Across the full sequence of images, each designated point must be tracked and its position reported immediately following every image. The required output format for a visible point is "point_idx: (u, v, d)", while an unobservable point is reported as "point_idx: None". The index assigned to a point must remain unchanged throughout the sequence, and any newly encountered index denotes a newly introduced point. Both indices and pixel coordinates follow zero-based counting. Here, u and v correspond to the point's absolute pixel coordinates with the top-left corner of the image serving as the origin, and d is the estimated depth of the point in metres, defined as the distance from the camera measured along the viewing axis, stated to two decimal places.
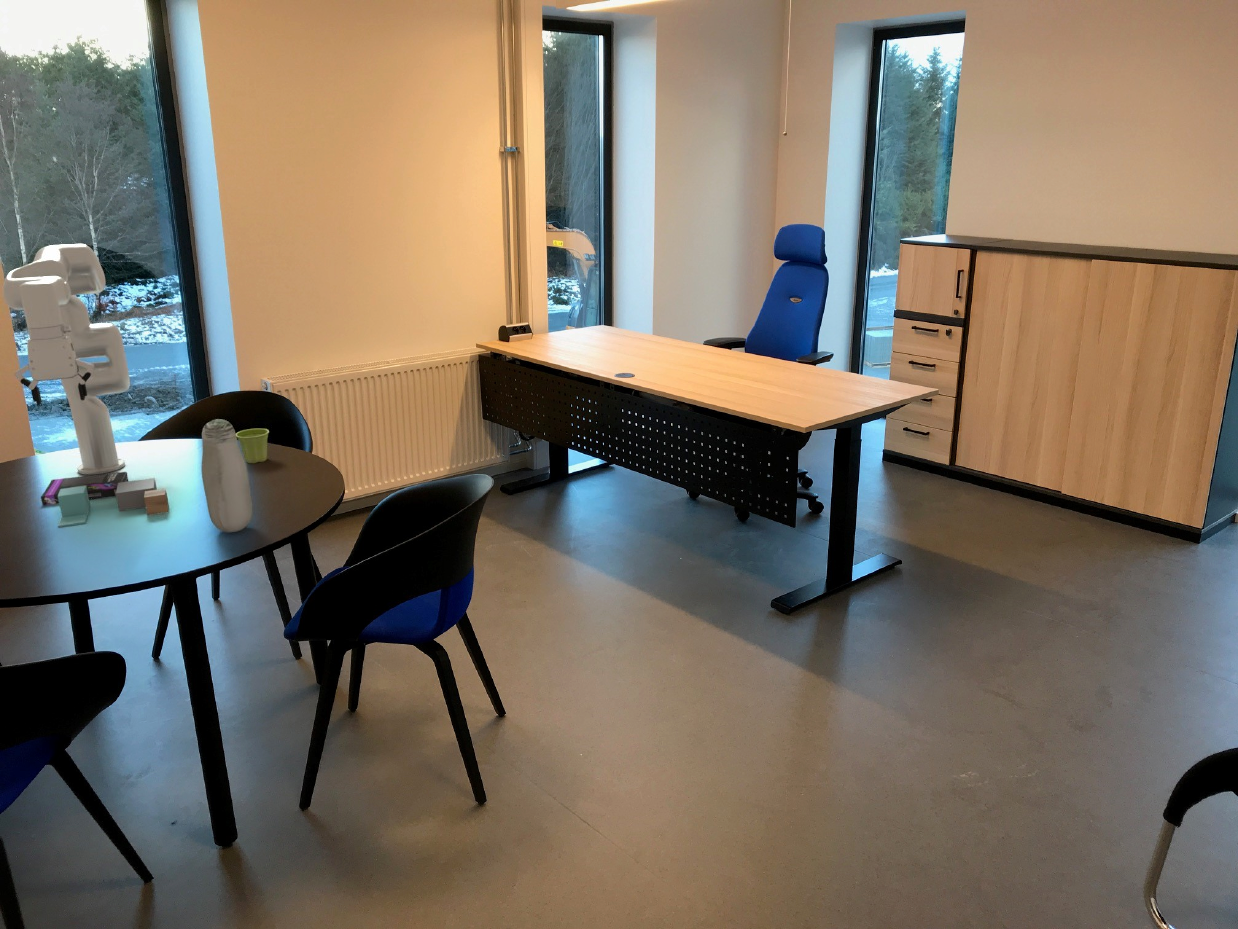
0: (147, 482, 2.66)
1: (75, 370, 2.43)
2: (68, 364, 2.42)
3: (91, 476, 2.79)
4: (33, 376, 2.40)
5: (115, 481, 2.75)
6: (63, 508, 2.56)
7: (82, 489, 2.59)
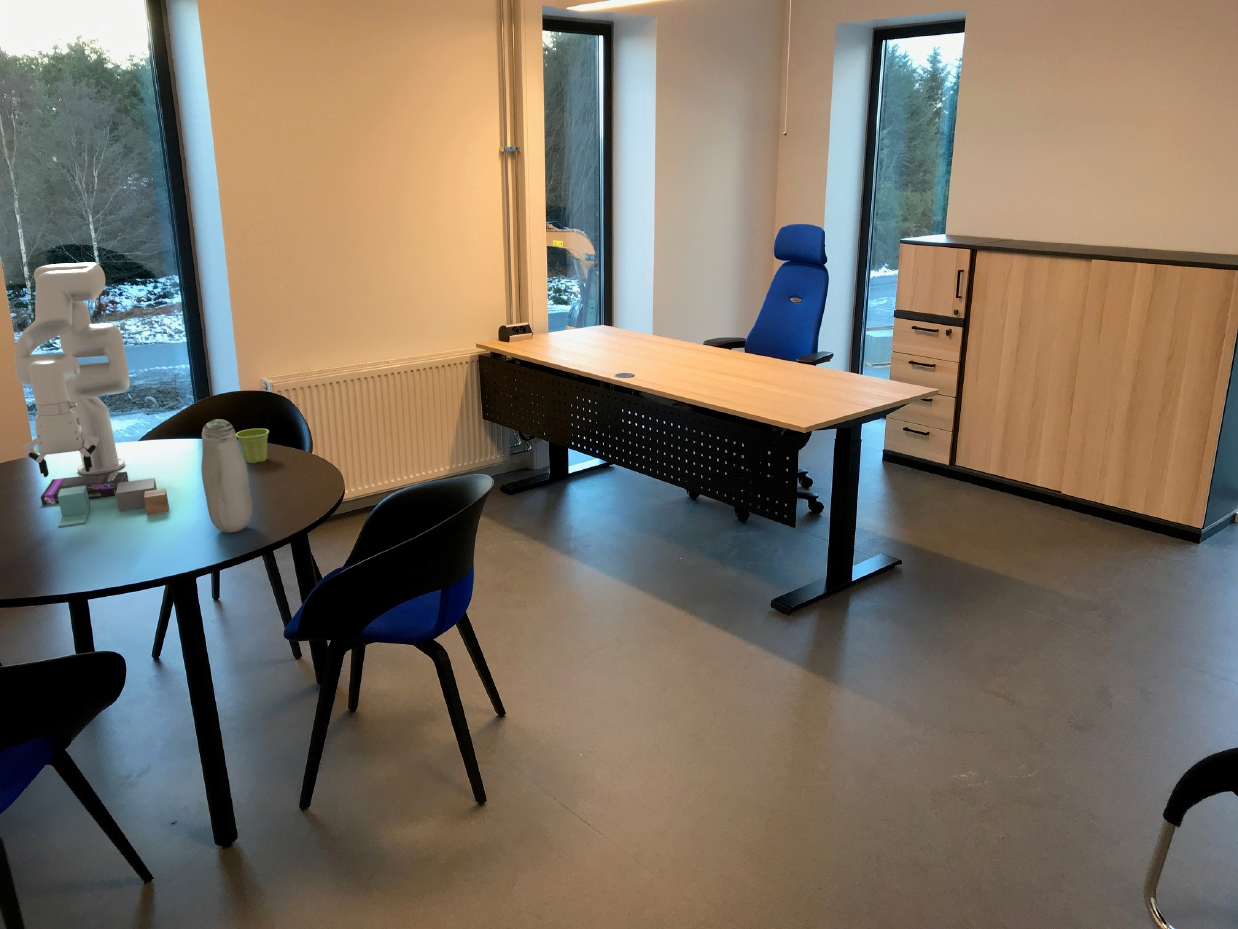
0: (147, 482, 2.66)
1: (81, 443, 2.54)
2: (74, 438, 2.53)
3: (91, 476, 2.79)
4: (40, 450, 2.51)
5: (115, 481, 2.75)
6: (63, 508, 2.56)
7: (82, 489, 2.59)
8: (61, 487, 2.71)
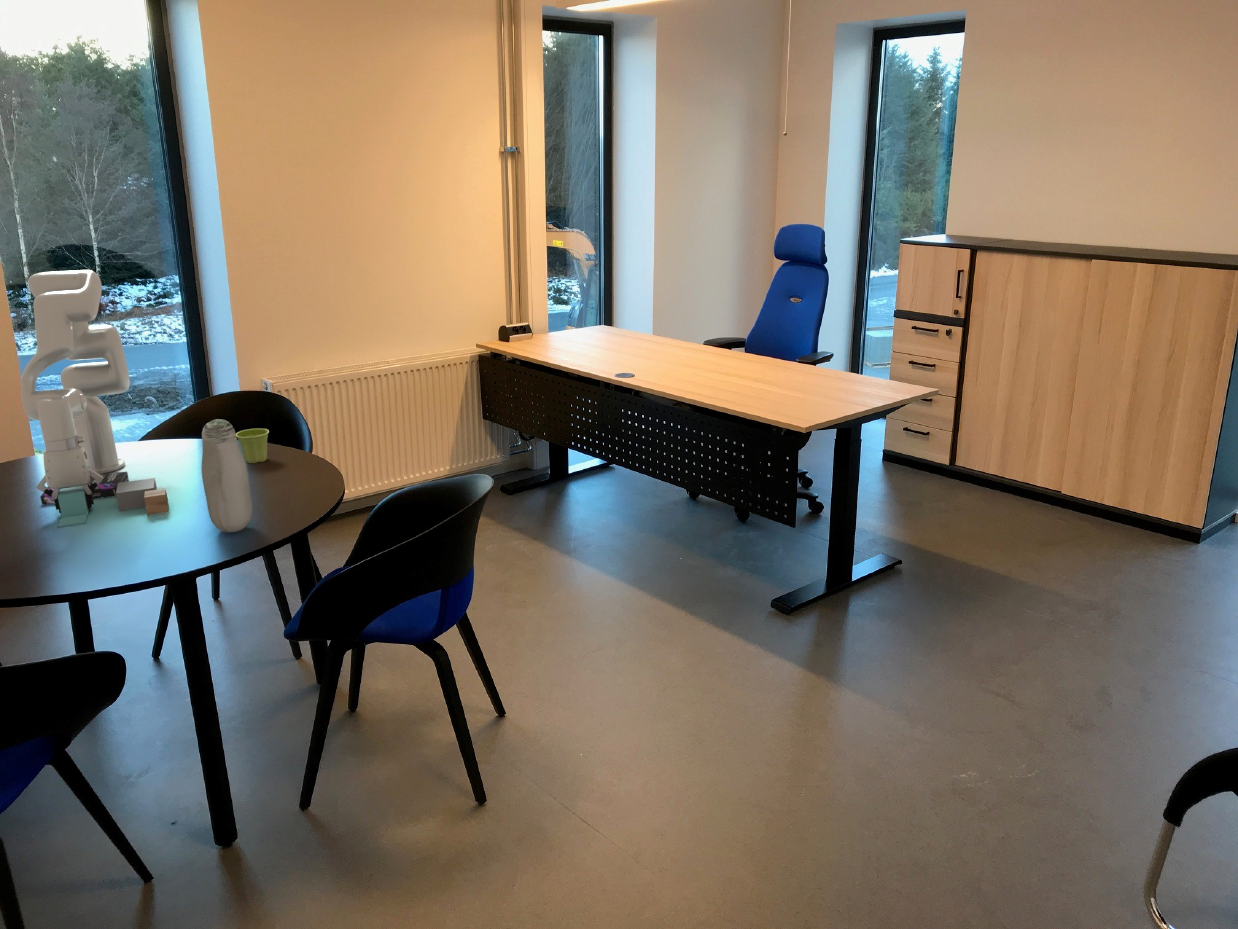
0: (147, 482, 2.66)
1: (88, 478, 2.57)
2: (82, 472, 2.56)
3: None
4: (49, 484, 2.54)
5: (115, 481, 2.75)
6: (63, 507, 2.56)
7: (82, 488, 2.59)
8: None
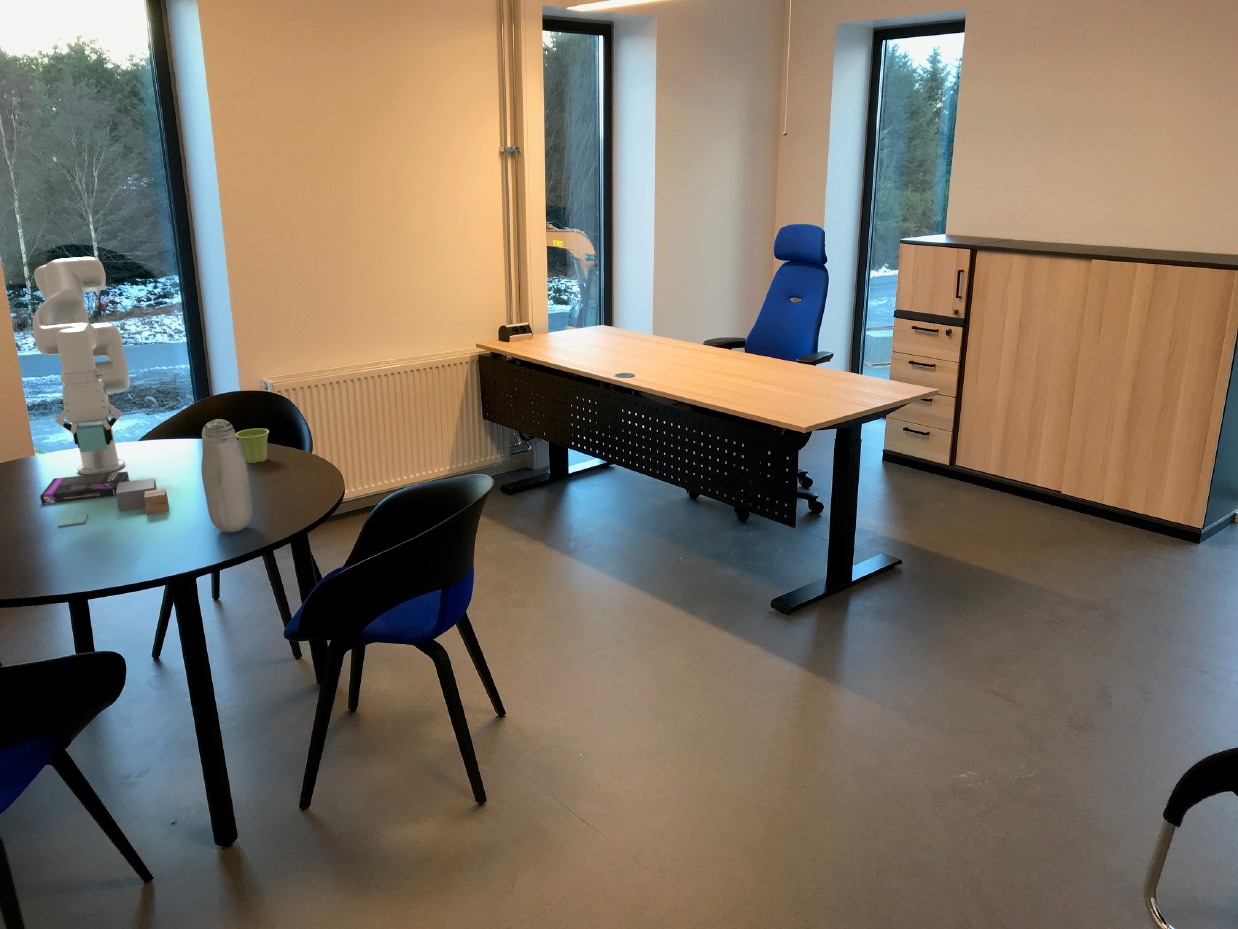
0: (147, 482, 2.66)
1: (107, 412, 2.54)
2: (100, 407, 2.53)
3: (92, 475, 2.80)
4: (68, 418, 2.52)
5: (115, 481, 2.75)
6: (81, 442, 2.53)
7: (101, 424, 2.57)
8: (61, 486, 2.72)
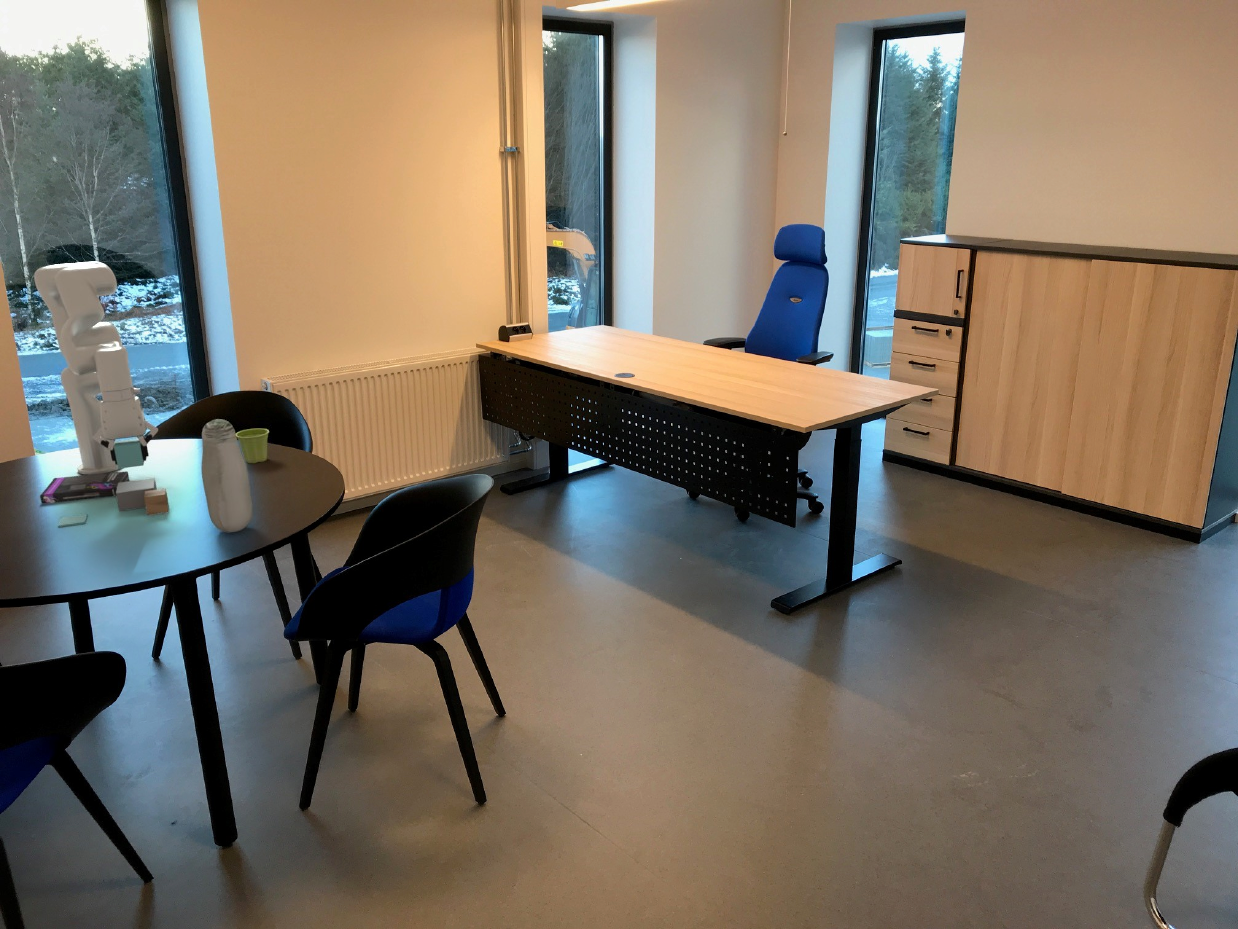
0: (147, 482, 2.66)
1: (144, 429, 2.59)
2: (138, 423, 2.58)
3: (92, 475, 2.80)
4: (105, 435, 2.56)
5: (115, 481, 2.75)
6: (119, 458, 2.57)
7: (137, 440, 2.61)
8: (61, 486, 2.72)
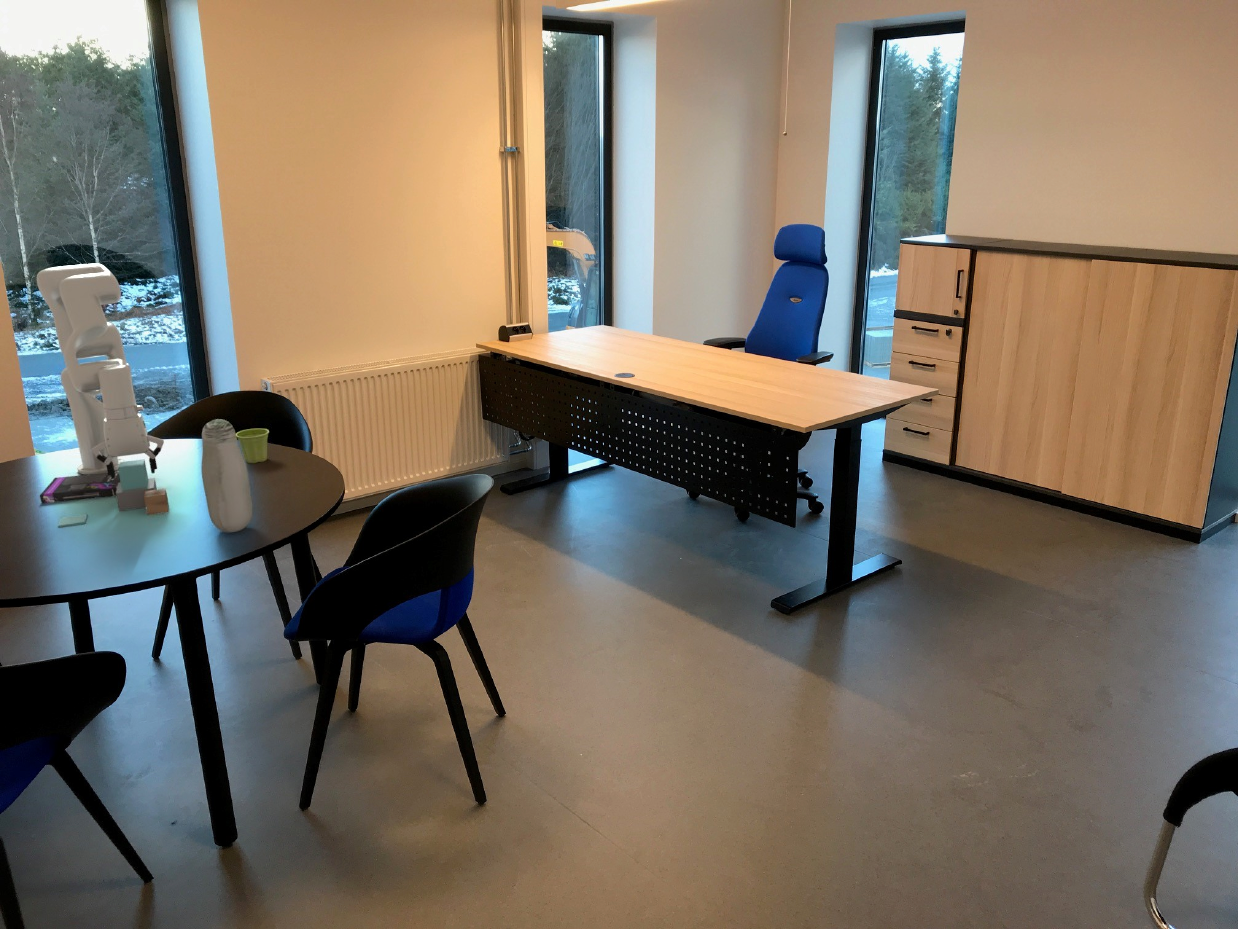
0: None
1: (147, 446, 2.60)
2: (141, 441, 2.59)
3: (93, 475, 2.80)
4: (109, 452, 2.57)
5: (115, 481, 2.75)
6: (123, 480, 2.60)
7: (141, 462, 2.63)
8: (61, 486, 2.72)
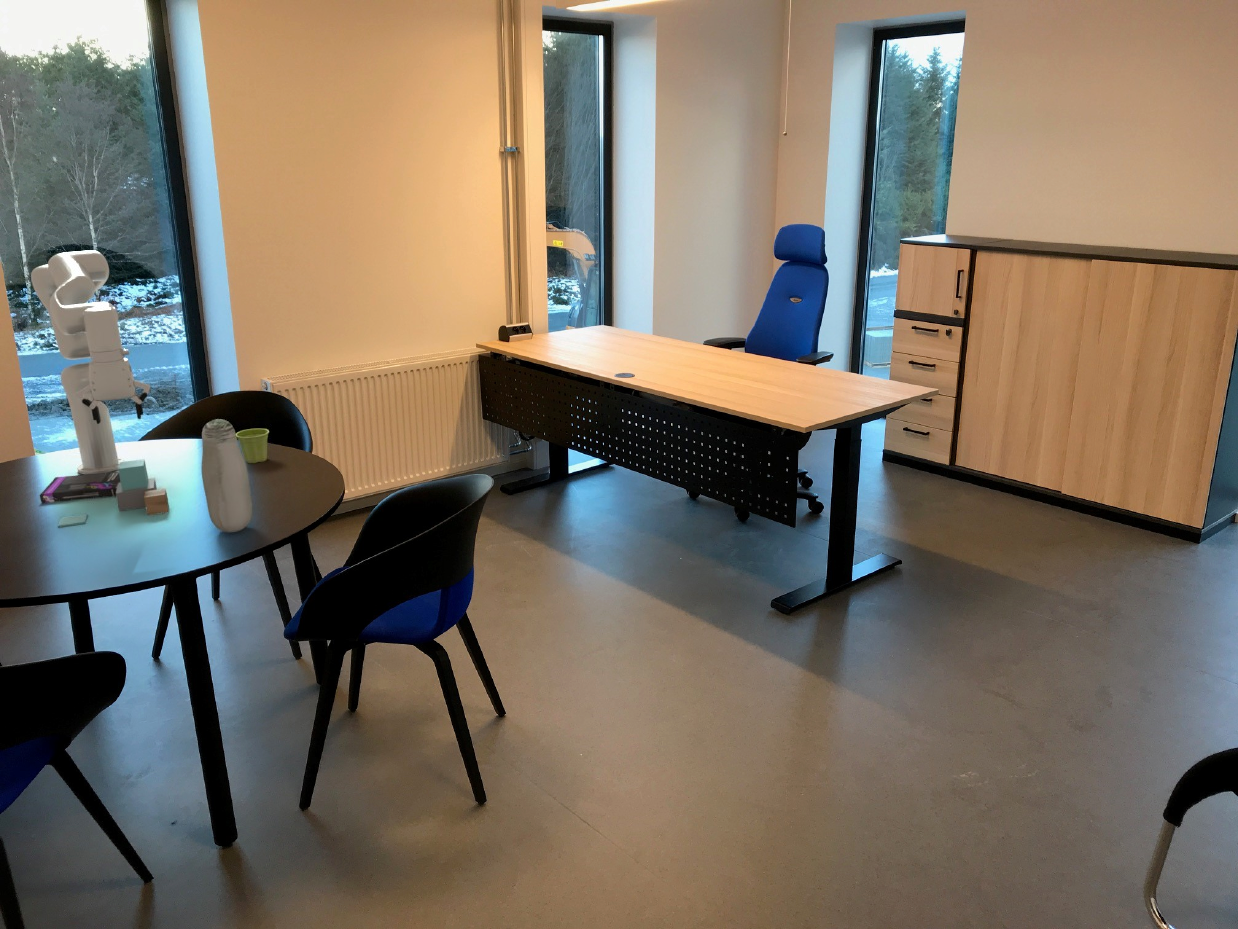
0: None
1: (133, 391, 2.57)
2: (127, 385, 2.55)
3: (93, 475, 2.80)
4: (94, 397, 2.53)
5: (114, 481, 2.75)
6: (123, 480, 2.60)
7: (141, 462, 2.63)
8: (61, 485, 2.72)
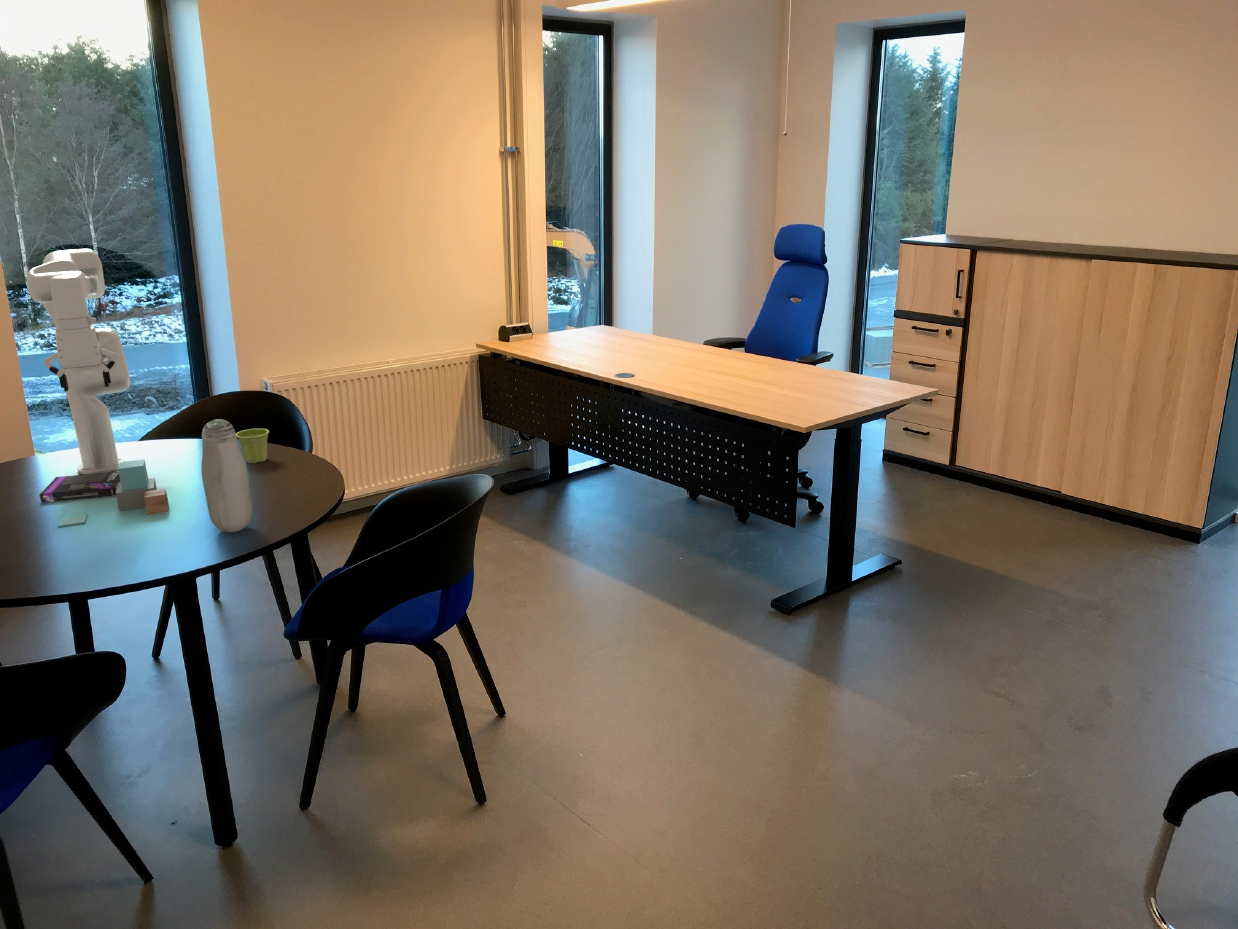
0: None
1: (100, 359, 2.59)
2: (94, 353, 2.58)
3: (93, 475, 2.80)
4: (61, 364, 2.56)
5: (114, 481, 2.75)
6: (123, 480, 2.60)
7: (141, 462, 2.63)
8: (61, 485, 2.73)
